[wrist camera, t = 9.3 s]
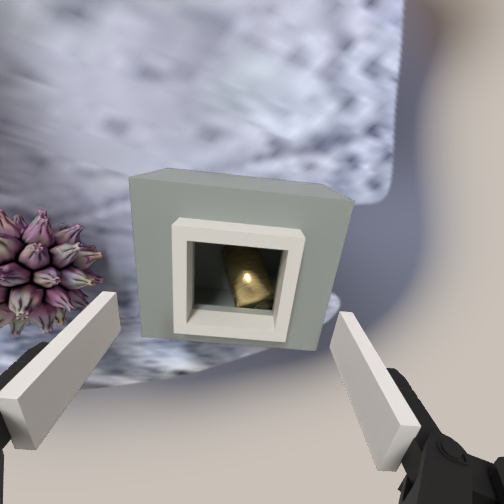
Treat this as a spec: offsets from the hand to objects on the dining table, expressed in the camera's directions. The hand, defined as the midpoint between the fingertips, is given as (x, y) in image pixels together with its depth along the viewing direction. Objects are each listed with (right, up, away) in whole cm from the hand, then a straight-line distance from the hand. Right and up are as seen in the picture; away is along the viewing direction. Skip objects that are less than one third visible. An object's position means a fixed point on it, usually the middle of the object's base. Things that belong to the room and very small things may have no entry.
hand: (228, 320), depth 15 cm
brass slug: (0, +4, +12) cm, 13 cm away
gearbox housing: (0, +5, +13) cm, 15 cm away
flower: (-19, +5, +14) cm, 24 cm away
